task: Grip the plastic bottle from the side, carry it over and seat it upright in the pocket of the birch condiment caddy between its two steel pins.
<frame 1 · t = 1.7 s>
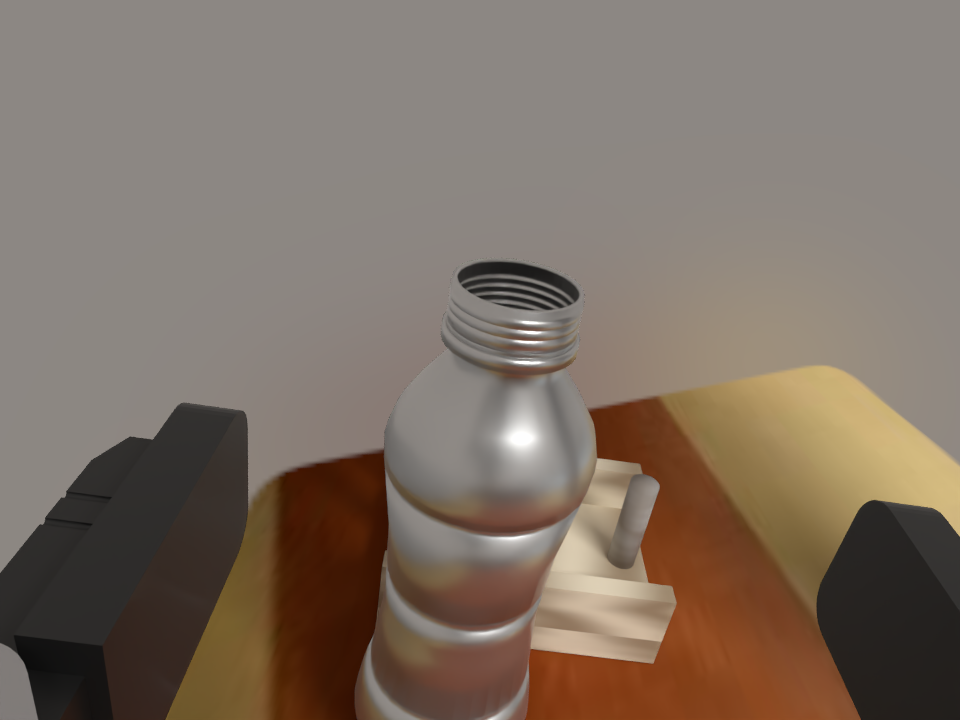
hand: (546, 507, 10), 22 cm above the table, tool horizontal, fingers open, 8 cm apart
caddy: (514, 567, 39), on the table
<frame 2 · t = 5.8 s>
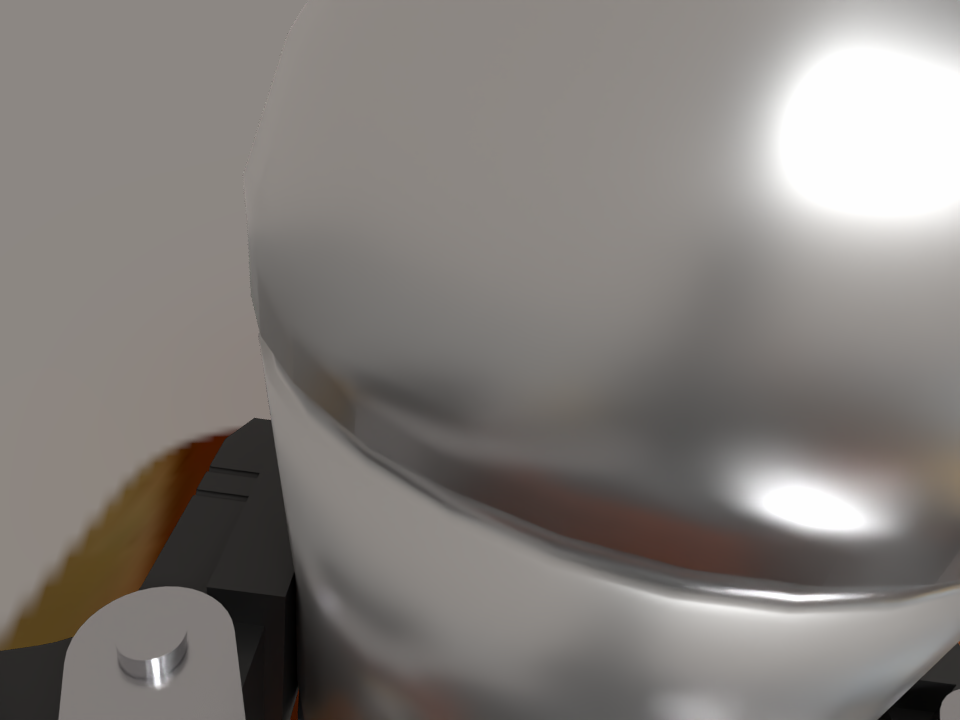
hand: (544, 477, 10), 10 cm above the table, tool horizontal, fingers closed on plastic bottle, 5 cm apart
when the fingers open (13 cm above the table, at t = 11.0 s): plastic bottle moves 2 cm, resting on caddy.
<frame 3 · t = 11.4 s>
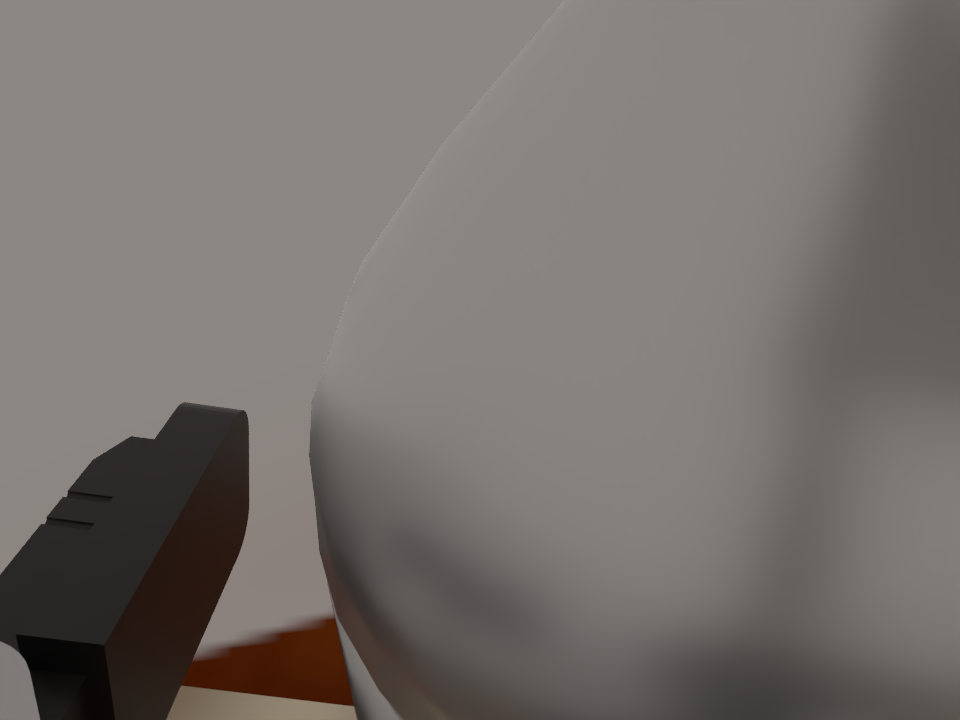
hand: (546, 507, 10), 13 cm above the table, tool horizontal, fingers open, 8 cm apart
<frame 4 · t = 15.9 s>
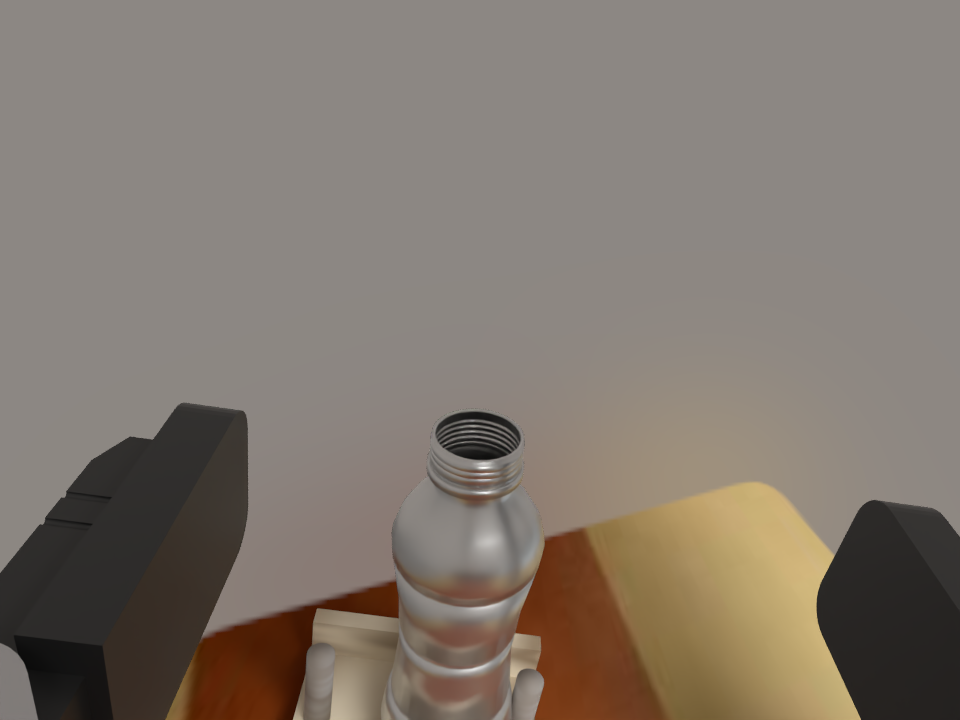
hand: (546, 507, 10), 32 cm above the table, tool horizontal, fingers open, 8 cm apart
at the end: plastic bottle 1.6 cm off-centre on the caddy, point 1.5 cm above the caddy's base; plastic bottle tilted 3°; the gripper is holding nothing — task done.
